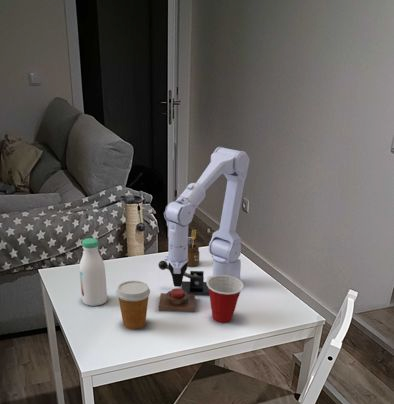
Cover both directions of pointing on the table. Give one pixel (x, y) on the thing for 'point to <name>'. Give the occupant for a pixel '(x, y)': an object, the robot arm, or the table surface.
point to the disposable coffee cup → (133, 303)
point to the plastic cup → (223, 296)
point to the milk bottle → (92, 274)
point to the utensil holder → (193, 252)
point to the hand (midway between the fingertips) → (177, 285)
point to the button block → (177, 303)
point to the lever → (164, 265)
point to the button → (177, 293)
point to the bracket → (196, 284)
